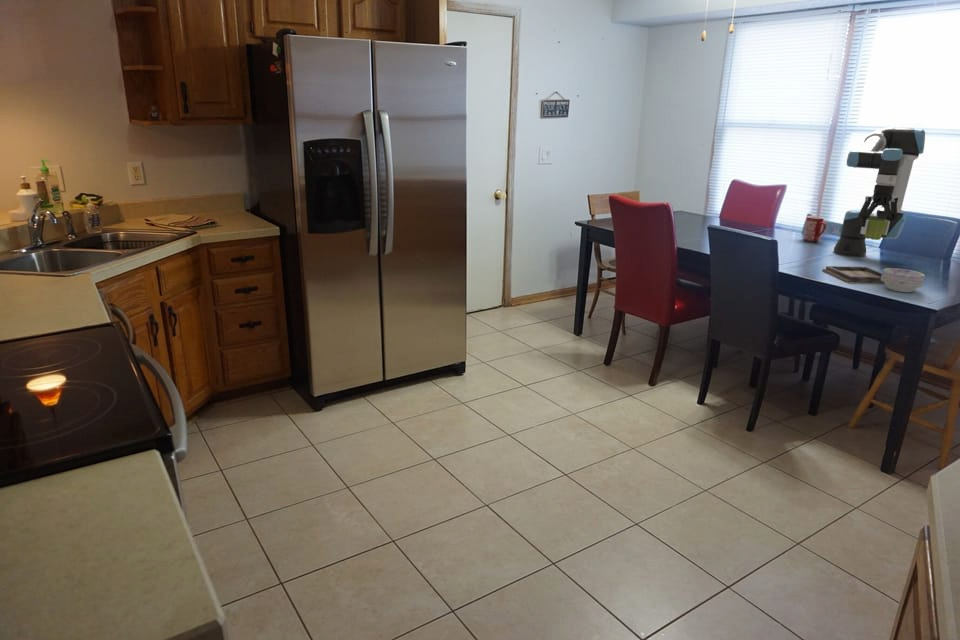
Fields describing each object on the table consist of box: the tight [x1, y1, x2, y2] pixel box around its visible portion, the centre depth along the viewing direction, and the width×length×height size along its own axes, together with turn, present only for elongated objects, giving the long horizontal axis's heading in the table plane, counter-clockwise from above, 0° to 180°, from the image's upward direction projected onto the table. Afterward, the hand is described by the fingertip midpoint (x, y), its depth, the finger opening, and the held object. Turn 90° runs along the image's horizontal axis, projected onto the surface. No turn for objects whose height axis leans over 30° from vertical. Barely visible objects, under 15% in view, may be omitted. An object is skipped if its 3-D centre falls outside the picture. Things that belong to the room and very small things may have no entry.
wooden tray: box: [821, 265, 885, 284], centre depth 289 cm, size 22×20×2 cm
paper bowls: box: [881, 267, 926, 293], centre depth 269 cm, size 15×15×8 cm
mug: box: [803, 215, 827, 242], centre depth 364 cm, size 13×9×14 cm
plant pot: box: [865, 218, 889, 241], centre depth 290 cm, size 9×9×9 cm
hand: (873, 234), depth 290 cm, fingers closed on plant pot, 9 cm apart
